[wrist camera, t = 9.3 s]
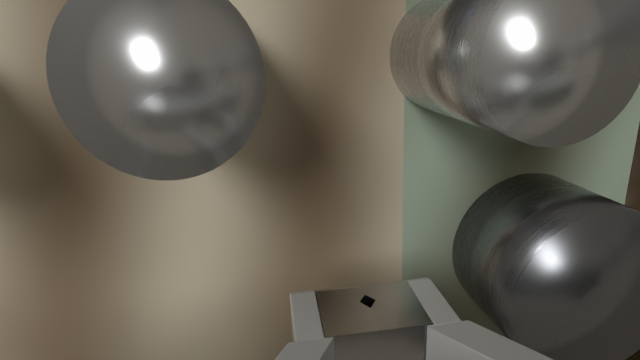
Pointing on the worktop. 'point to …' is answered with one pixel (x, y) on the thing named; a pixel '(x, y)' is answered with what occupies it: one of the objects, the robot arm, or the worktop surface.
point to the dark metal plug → (554, 267)
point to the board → (249, 197)
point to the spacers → (405, 62)
